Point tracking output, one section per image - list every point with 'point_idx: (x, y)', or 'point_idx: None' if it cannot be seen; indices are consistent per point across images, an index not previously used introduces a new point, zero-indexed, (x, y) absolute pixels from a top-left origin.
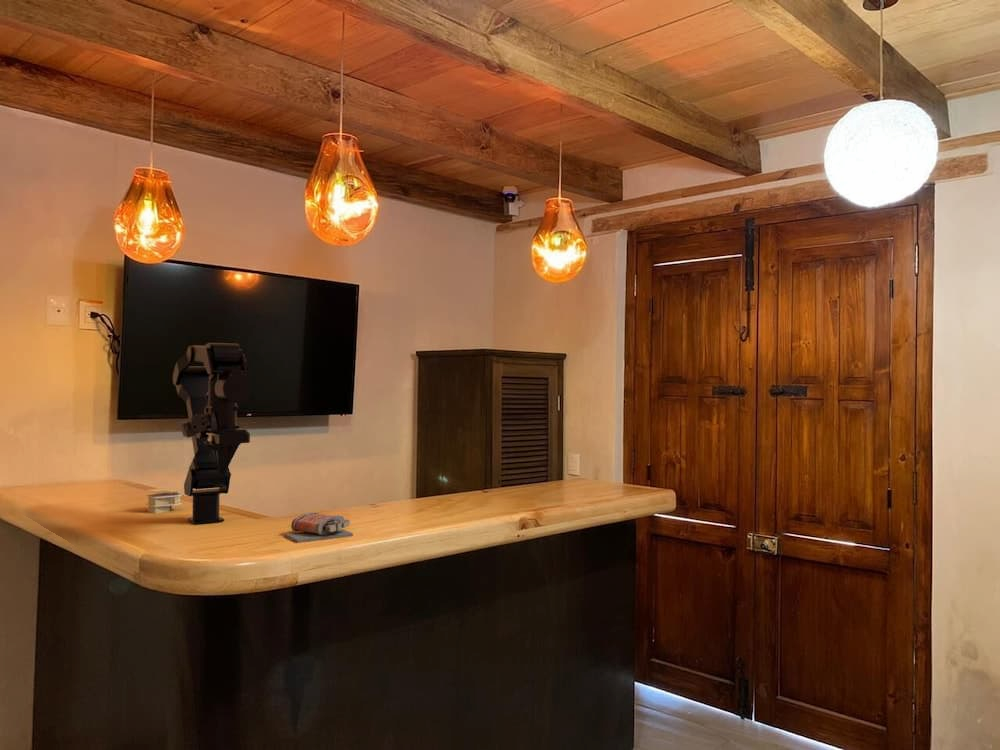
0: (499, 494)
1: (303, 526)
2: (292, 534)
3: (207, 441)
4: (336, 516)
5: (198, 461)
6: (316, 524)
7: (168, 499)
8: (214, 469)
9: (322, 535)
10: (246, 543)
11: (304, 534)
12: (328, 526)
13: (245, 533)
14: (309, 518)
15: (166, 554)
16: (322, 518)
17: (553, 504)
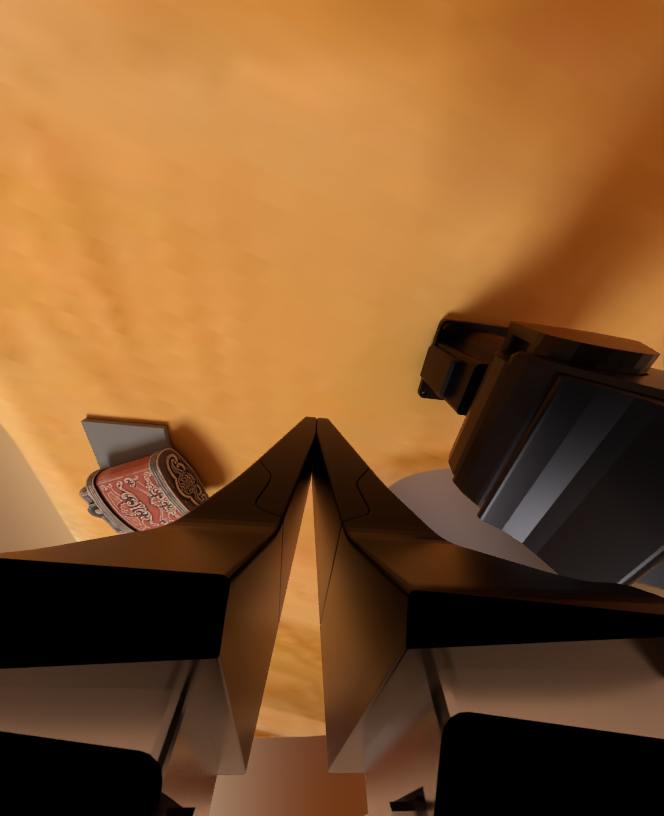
0: (316, 688)
1: (129, 463)
2: (151, 437)
3: (599, 659)
4: (119, 526)
5: (631, 418)
6: (97, 481)
7: None
8: (505, 460)
9: None
10: (120, 329)
11: (142, 454)
12: (85, 491)
13: (247, 376)
14: (139, 489)
15: (12, 3)
16: (119, 504)
17: None
